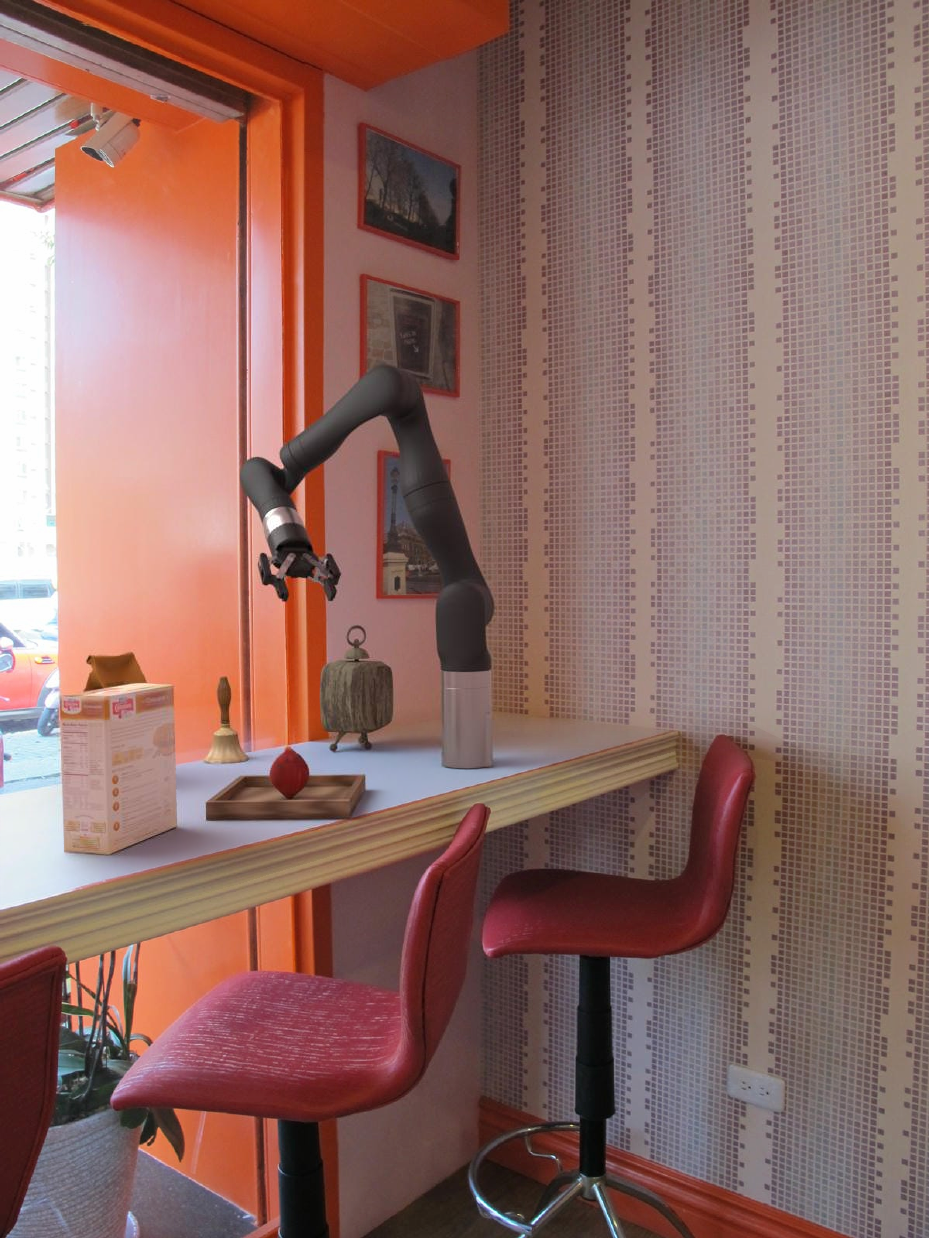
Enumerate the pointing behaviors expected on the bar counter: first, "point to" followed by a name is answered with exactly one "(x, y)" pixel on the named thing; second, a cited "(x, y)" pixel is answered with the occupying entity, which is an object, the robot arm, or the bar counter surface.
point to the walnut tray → (267, 803)
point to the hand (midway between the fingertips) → (309, 598)
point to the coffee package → (113, 671)
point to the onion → (289, 773)
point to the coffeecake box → (117, 766)
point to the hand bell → (225, 732)
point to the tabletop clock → (356, 694)
